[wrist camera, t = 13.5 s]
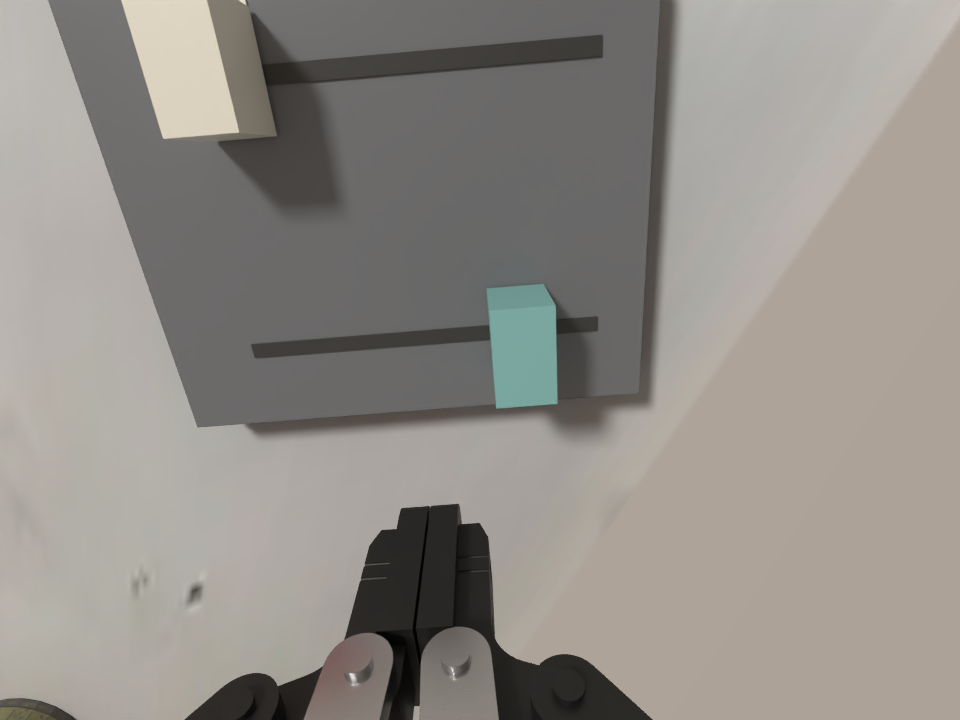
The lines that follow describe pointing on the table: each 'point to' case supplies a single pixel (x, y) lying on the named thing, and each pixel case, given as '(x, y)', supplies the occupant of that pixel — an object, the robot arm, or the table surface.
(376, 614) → the robot arm
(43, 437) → the table surface
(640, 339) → the console
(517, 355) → the fader teal
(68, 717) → the thermos
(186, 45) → the block
